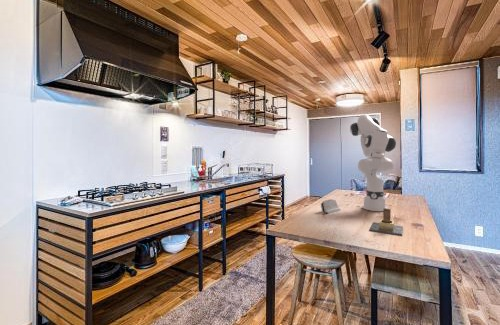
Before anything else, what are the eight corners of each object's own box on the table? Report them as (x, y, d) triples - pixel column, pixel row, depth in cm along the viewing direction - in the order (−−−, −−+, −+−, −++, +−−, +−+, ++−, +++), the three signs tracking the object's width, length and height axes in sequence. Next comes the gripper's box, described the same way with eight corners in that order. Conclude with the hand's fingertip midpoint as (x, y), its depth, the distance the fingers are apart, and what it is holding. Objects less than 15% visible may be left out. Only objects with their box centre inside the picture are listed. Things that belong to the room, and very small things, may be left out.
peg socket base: (373, 223, 161) (373, 216, 160) (403, 227, 152) (403, 220, 152) (369, 230, 147) (369, 222, 147) (402, 235, 139) (402, 227, 138)
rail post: (383, 226, 152) (383, 207, 152) (390, 227, 150) (390, 208, 150) (382, 227, 149) (383, 209, 148) (389, 228, 147) (390, 209, 147)
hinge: (328, 214, 184) (324, 200, 186) (322, 215, 188) (318, 201, 190) (341, 210, 195) (337, 197, 197) (335, 211, 198) (331, 198, 200)
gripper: (370, 153, 175) (366, 174, 176) (372, 154, 156) (368, 176, 157) (380, 155, 172) (377, 175, 174) (383, 155, 153) (379, 178, 155)
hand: (372, 176), depth 165 cm, fingers open, 8 cm apart
